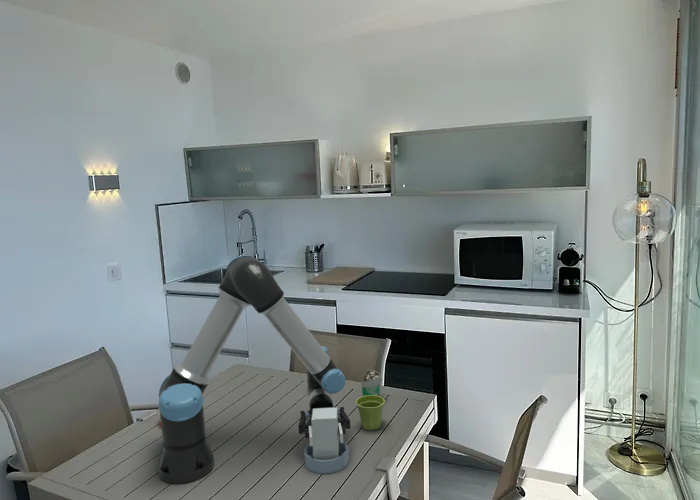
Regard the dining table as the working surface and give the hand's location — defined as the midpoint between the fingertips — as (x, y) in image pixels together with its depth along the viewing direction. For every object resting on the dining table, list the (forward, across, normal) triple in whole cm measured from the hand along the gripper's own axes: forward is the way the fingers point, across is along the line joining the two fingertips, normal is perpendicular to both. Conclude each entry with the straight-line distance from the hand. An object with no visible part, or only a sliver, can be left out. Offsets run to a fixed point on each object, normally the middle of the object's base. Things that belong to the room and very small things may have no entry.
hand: (326, 439), depth 142 cm
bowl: (-5, 0, -9) cm, 10 cm away
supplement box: (-5, 0, -7) cm, 9 cm away
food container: (-41, -20, -9) cm, 46 cm away
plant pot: (-23, -16, -9) cm, 29 cm away
